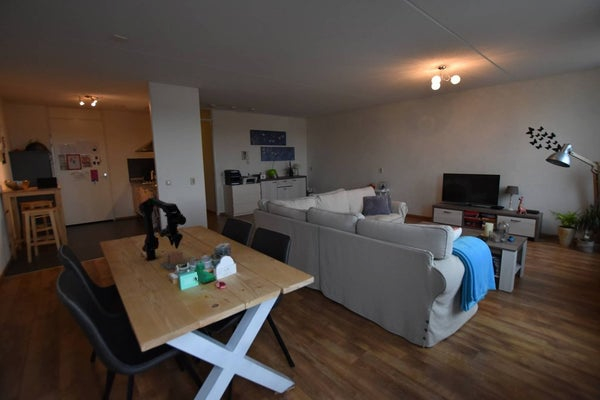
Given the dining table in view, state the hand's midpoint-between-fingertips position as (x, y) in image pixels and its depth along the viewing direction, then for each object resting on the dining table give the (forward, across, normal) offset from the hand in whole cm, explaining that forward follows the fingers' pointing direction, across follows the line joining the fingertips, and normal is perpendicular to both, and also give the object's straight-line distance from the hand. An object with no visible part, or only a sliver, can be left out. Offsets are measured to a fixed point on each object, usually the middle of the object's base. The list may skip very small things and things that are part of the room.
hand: (174, 246), depth 184 cm
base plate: (+12, 0, 0) cm, 12 cm away
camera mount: (+12, +36, +4) cm, 38 cm away
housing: (+11, 0, 0) cm, 11 cm away
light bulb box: (+12, +16, +26) cm, 33 cm away
